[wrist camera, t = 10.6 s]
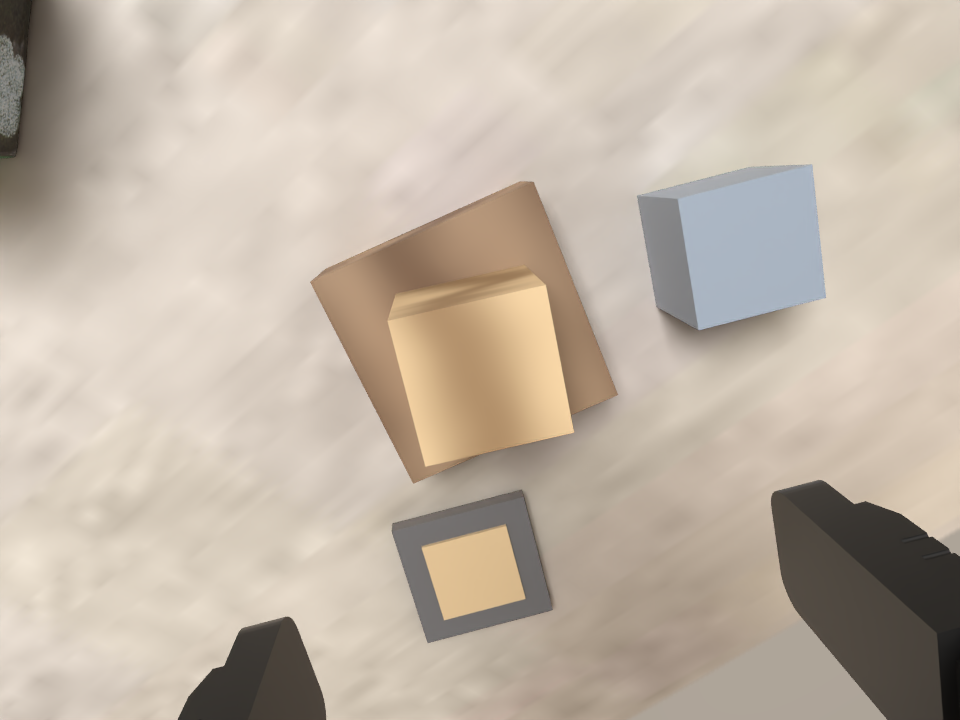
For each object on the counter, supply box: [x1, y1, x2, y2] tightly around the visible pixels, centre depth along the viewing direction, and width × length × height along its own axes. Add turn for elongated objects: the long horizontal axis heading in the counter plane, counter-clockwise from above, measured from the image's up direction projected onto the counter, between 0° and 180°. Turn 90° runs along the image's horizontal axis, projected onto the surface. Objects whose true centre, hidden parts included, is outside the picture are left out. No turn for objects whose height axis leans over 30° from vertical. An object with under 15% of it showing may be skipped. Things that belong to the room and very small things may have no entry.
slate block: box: [637, 165, 826, 330], centre depth 30 cm, size 6×6×6 cm
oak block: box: [388, 265, 574, 467], centre depth 26 cm, size 6×6×6 cm
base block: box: [310, 182, 618, 484], centre depth 31 cm, size 10×10×4 cm
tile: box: [392, 490, 553, 643], centre depth 36 cm, size 7×7×1 cm
